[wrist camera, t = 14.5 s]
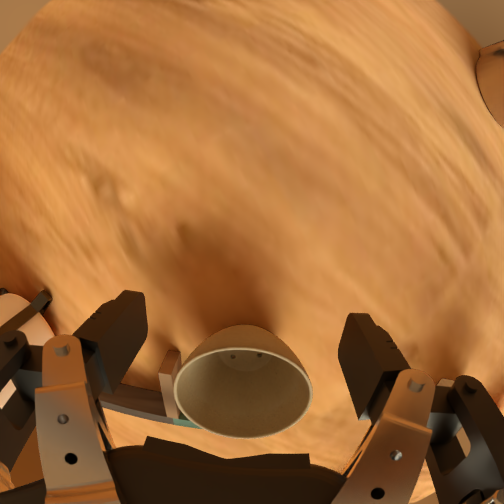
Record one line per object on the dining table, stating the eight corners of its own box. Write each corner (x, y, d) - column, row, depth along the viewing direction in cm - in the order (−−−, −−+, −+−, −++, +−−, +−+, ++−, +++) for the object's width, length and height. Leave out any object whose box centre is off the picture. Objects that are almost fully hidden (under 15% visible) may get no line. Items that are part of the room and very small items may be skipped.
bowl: (282, 391, 26) (287, 445, 19) (186, 372, 25) (169, 424, 18) (315, 311, 23) (335, 362, 16) (201, 286, 23) (179, 331, 16)
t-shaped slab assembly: (96, 336, 25) (80, 354, 21) (268, 359, 24) (269, 384, 21) (110, 387, 27) (99, 406, 23) (261, 410, 27) (261, 433, 23)
